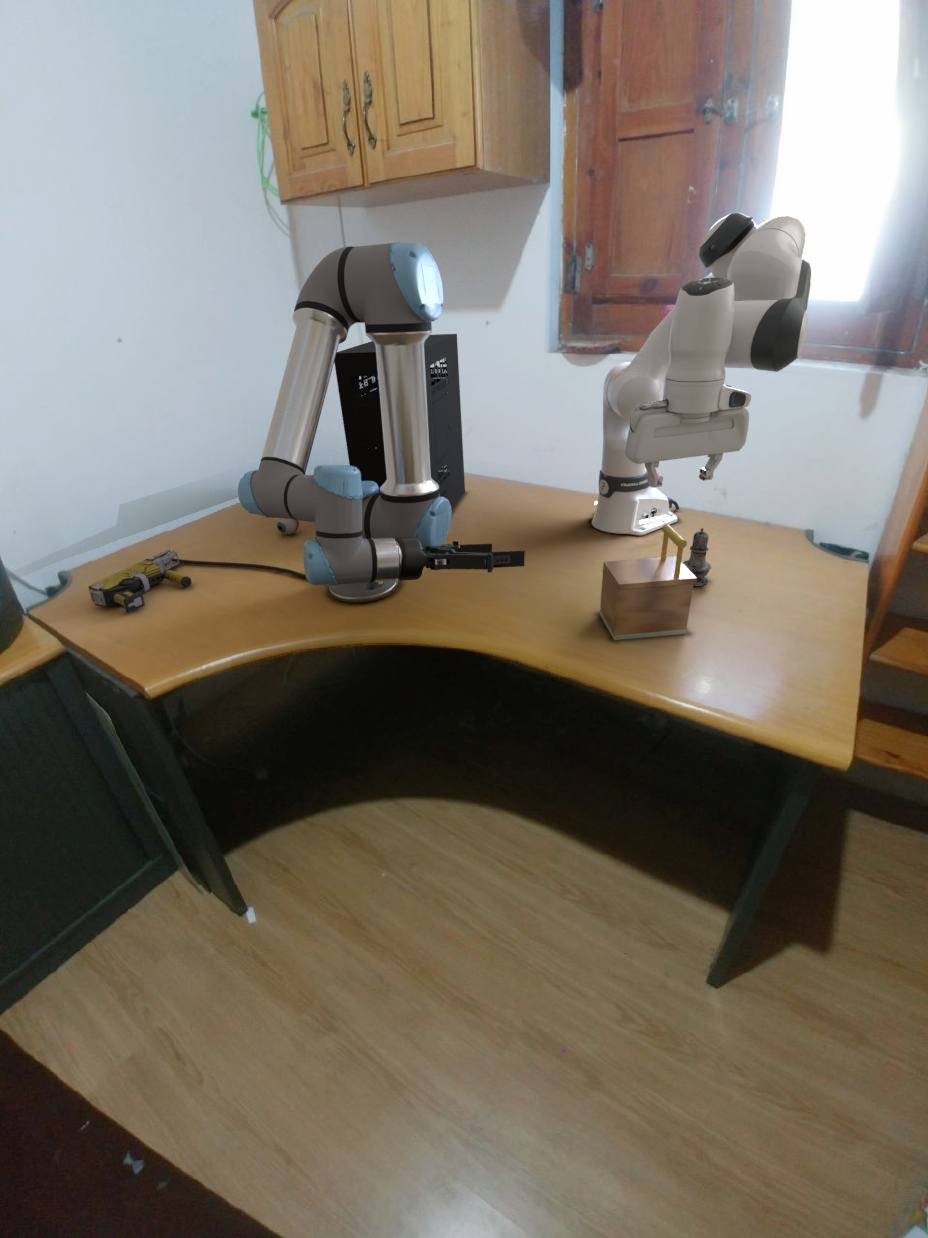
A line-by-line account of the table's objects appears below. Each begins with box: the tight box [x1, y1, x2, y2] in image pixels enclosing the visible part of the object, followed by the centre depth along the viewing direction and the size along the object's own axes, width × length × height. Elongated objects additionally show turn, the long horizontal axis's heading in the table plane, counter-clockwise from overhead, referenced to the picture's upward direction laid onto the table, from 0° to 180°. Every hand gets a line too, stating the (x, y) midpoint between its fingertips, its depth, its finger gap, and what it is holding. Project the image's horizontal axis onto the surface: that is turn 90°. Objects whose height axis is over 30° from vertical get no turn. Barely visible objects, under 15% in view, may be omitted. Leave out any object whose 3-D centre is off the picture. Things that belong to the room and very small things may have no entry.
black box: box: [334, 333, 466, 511], centre depth 164 cm, size 38×20×45 cm, turn 167°
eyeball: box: [275, 518, 300, 536], centre depth 163 cm, size 6×6×6 cm
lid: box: [602, 524, 697, 590], centre depth 108 cm, size 14×10×8 cm
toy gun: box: [87, 549, 193, 614], centre depth 138 cm, size 5×24×15 cm
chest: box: [599, 566, 694, 641], centre depth 113 cm, size 14×10×10 cm
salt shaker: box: [682, 527, 712, 587], centre depth 126 cm, size 6×6×12 cm
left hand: (506, 554), depth 112 cm, fingers open, 13 cm apart
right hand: (680, 482), depth 102 cm, fingers open, 8 cm apart
